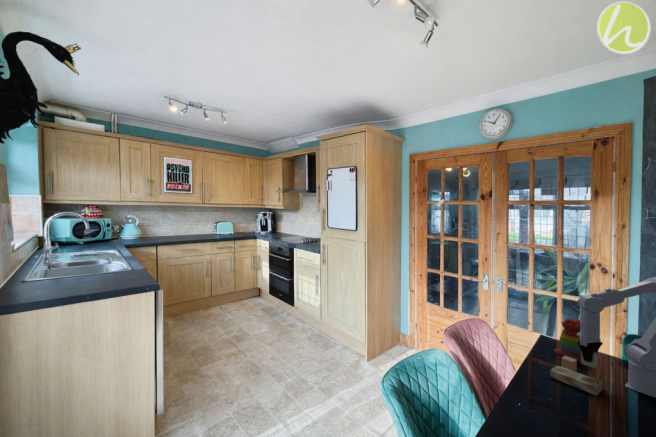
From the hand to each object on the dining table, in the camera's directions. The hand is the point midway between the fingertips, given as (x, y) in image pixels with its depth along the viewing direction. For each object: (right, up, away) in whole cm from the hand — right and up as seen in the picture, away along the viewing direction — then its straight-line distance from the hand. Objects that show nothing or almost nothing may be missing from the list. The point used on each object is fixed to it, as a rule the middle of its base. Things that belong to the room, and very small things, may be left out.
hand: (589, 359), depth 110 cm
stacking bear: (+11, -9, +20) cm, 25 cm away
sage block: (0, -2, 0) cm, 2 cm away
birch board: (-7, -8, -2) cm, 11 cm away
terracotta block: (-1, -9, +8) cm, 12 cm away
